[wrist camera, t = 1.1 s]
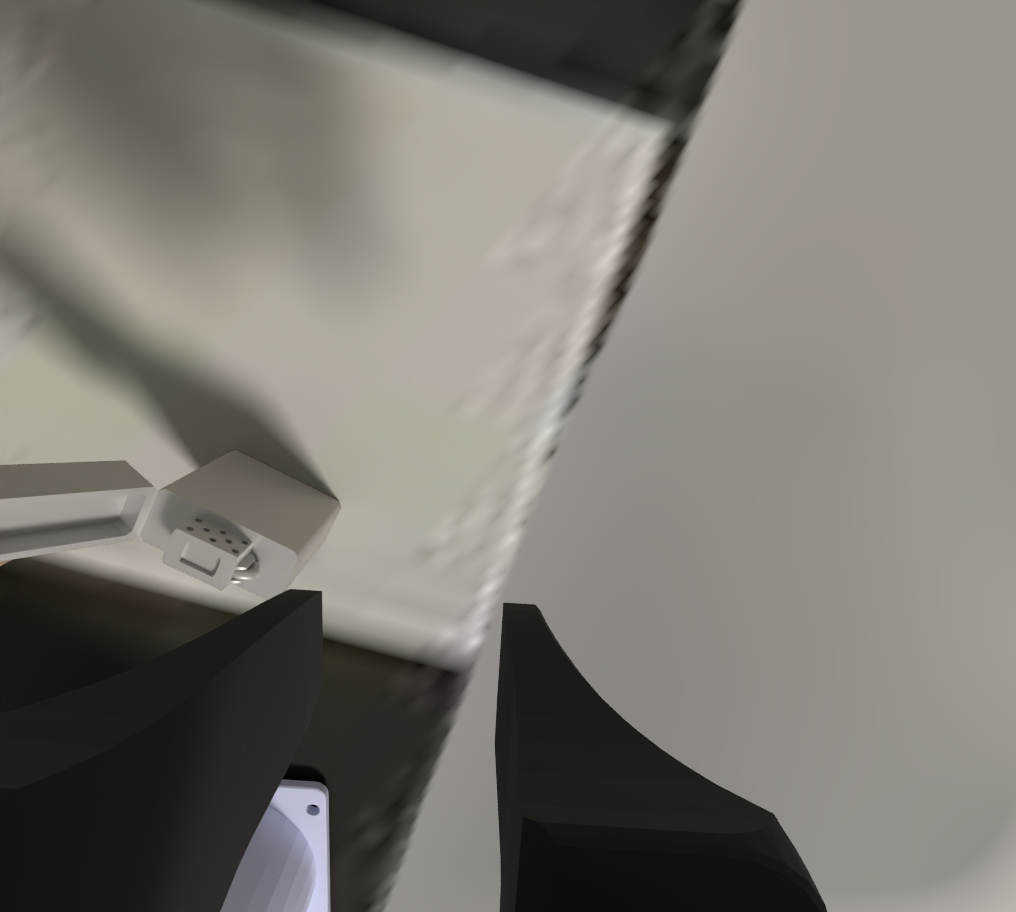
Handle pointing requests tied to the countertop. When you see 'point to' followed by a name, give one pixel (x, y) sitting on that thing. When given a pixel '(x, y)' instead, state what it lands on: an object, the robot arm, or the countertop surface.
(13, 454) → the countertop surface
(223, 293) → the countertop surface
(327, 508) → the lighter
